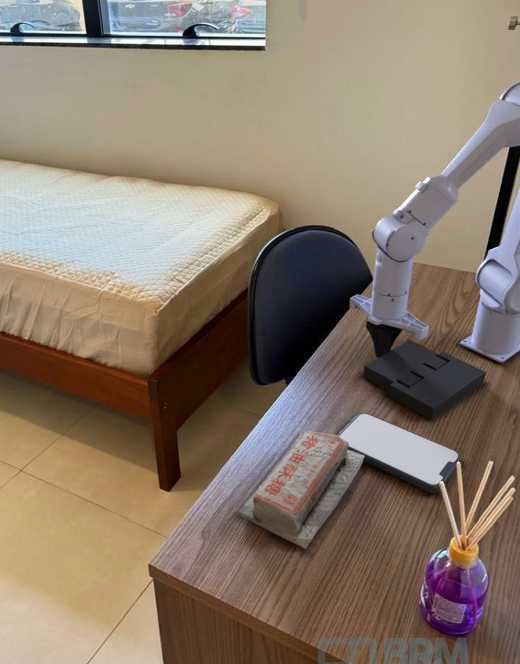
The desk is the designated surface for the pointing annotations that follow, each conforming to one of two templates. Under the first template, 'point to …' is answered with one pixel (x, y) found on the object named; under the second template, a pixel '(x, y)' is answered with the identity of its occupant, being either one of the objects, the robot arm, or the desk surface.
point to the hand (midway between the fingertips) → (382, 356)
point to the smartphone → (401, 452)
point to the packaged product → (304, 487)
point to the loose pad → (401, 365)
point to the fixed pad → (438, 386)
